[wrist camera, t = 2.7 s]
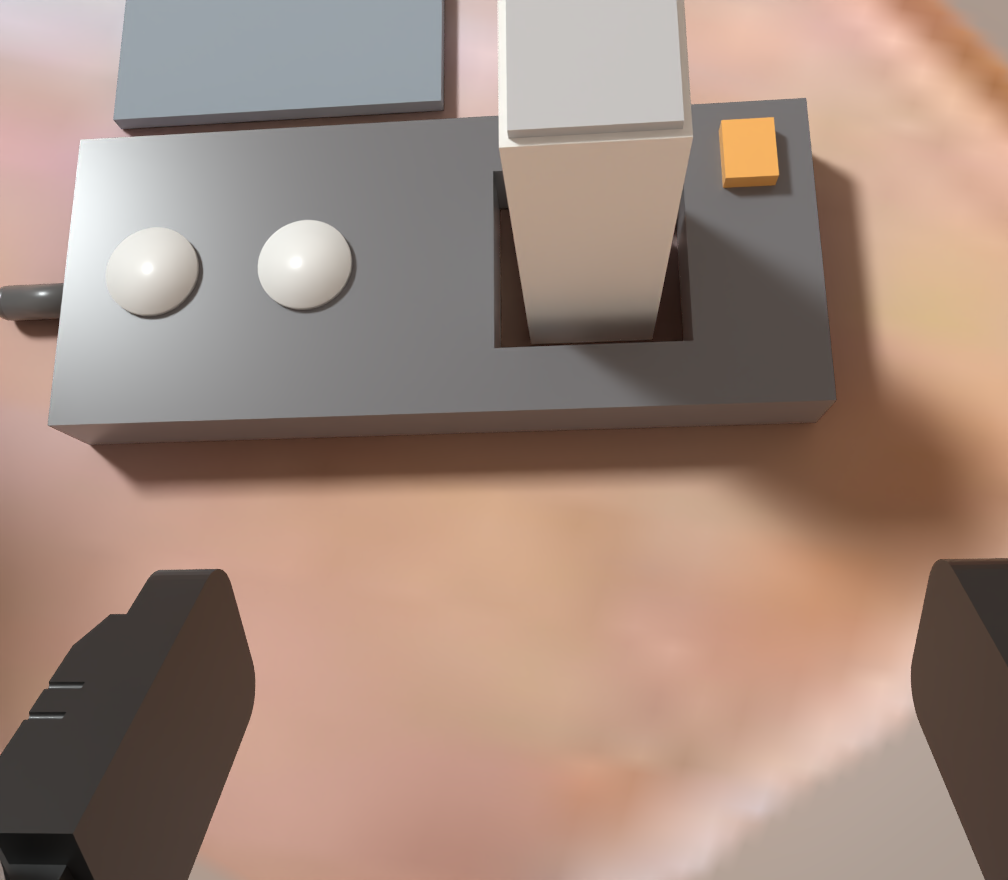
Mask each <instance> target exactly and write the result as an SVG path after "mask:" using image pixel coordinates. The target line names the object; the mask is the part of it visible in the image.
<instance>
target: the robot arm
mask: <svg viewBox="0 0 1008 880" xmlns="http://www.w3.org/2000/svg"><path fill="white" fill-rule="evenodd" d="M911 688H912V696H913V702H914V707H915V711H916V714H917V717H918V720H919V723H920V725H921V728H922V730H923V732H924V735H925V737H926V739H927V742H928V744H929V747H930V749H931V751H932V754H933V756H934V759H935V761H936V763H937V766H938V768H939V771H940V773H941V775H942V778H943V780H944V782H945V785H946V787H947V790H948V792H949V795H950V797H951V799H952V802H953V804H954V806H955V809H956V811H957V814H958V816H959V818H960V821H961V823H962V826H963V828H964V830H965V833H966V835H967V837H968V840H969V842H970V845H971V847H972V850H973V852H974V854H975V857H976V859H977V861H978V864H979V866H980V869H981V871H982V874H983V876H984V878H985V880H1008V558H995V559H940V560H938V561H936V562H935V564H934V565H933V567H932V569H931V572H930V576H929V580H928V585H927V590H926V595H925V600H924V605H923V610H922V615H921V619H920V624H919V629H918V634H917V639H916V644H915V649H914V654H913V659H912V665H911ZM254 697H255V672H254V665H253V661H252V658H251V654H250V650H249V647H248V643H247V639H246V636H245V632H244V629H243V625H242V621H241V618H240V614H239V611H238V607H237V603H236V600H235V596H234V593H233V589H232V585H231V582H230V580H229V578H228V576H227V574H226V573H225V572H224V571H223V570H221V569H195V570H158V571H156V572H154V573H153V574H152V575H151V576H150V577H149V579H148V580H147V582H146V583H145V585H144V587H143V588H142V590H141V591H140V593H139V595H138V596H137V598H136V600H135V601H134V603H133V605H132V606H131V608H130V609H129V611H128V613H127V614H110V615H109V616H108V617H107V618H106V619H104V620H103V621H102V622H101V623H100V624H98V625H97V626H96V627H95V628H94V629H92V630H91V631H90V632H89V633H88V634H86V635H85V636H84V637H83V638H82V639H80V640H79V641H78V642H77V643H76V644H74V645H73V646H72V648H71V649H70V651H69V652H68V654H67V655H66V657H65V658H64V660H63V661H62V663H61V664H60V666H59V667H58V669H57V670H56V672H55V674H54V675H53V677H52V678H51V680H50V681H49V688H48V689H44V690H43V692H42V693H41V695H40V696H39V698H38V699H37V701H36V702H35V704H34V705H33V707H32V708H31V710H30V711H29V714H30V716H29V719H28V720H24V721H23V722H22V724H21V725H20V727H19V728H18V730H17V731H16V733H15V734H14V736H13V737H12V739H11V740H10V742H9V743H8V745H7V746H6V748H5V749H4V751H3V752H2V754H1V755H0V880H188V878H189V875H190V872H191V870H192V867H193V865H194V862H195V859H196V857H197V854H198V852H199V849H200V847H201V844H202V841H203V839H204V836H205V834H206V831H207V829H208V826H209V823H210V821H211V818H212V816H213V813H214V810H215V808H216V805H217V803H218V800H219V798H220V795H221V792H222V790H223V787H224V785H225V782H226V780H227V777H228V774H229V772H230V769H231V767H232V764H233V761H234V759H235V756H236V754H237V751H238V749H239V746H240V743H241V741H242V738H243V736H244V733H245V731H246V728H247V725H248V723H249V720H250V717H251V714H252V710H253V704H254Z"/></svg>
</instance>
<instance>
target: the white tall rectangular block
mask: <svg viewBox="0 0 1008 880" xmlns="http://www.w3.org/2000/svg"><path fill="white" fill-rule="evenodd" d="M498 107H499V151H500V158H501V164H502V170H503V176H504V182H505V188H506V194H507V200H508V206H509V212H510V219H511V225H512V231H513V237H514V243H515V249H516V255H517V261H518V267H519V273H520V279H521V286H522V292H523V298H524V304H525V310H526V316H527V322H528V328H529V334H530V340H531V344H550V343H577V342H603V341H630V340H652V339H653V334H654V329H655V324H656V319H657V314H658V309H659V304H660V299H661V294H662V289H663V284H664V279H665V274H666V269H667V264H668V259H669V254H670V249H671V244H672V239H673V234H674V229H675V224H676V219H677V214H678V210H679V205H680V200H681V195H682V190H683V185H684V180H685V175H686V170H687V165H688V160H689V155H690V150H691V145H692V140H693V128H692V113H691V98H690V83H689V67H688V52H687V37H686V22H685V7H684V0H498Z"/></svg>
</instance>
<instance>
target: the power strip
mask: <svg viewBox="0 0 1008 880" xmlns="http://www.w3.org/2000/svg"><path fill="white" fill-rule="evenodd" d="M691 113H692V128H693V140H692V145H691V150H690V155H689V160H688V165H687V170H686V175H685V180H684V185H683V190H682V195H681V200H680V205H679V210H678V214H677V219H676V227H677V244H678V261H679V278H680V295H681V311H682V328H683V341H668V342H642V343H615V344H589V345H562V346H535V347H509V348H501V273H500V209H507V208H509V206H508V200H507V194H506V188H505V182H504V176H503V170H502V164H501V158H500V151H499V116H485V117H468V118H450V119H433V120H416V121H398V122H381V123H363V124H346V125H329V126H311V127H294V128H276V129H259V130H242V131H224V132H207V133H189V134H172V135H155V136H137V137H120V138H102V139H85V140H80V147H79V156H78V164H77V173H76V182H75V191H74V199H73V208H72V217H71V226H70V234H69V243H68V252H67V260H66V269H65V278H64V283H58V284H36V285H13V286H4V287H1V288H0V317H1V318H3V319H6V320H12V321H15V320H39V319H60V322H59V330H58V339H57V348H56V356H55V365H54V374H53V383H52V391H51V400H50V409H49V418H48V426H50V427H52V428H54V429H56V430H58V431H61V432H63V433H65V434H67V435H69V436H71V437H74V438H76V439H78V440H80V441H82V442H84V443H87V444H89V445H92V444H125V443H158V442H191V441H224V440H257V439H290V438H323V437H356V436H389V435H422V434H455V433H488V432H521V431H554V430H587V429H620V428H653V427H685V426H718V425H751V424H784V423H816V422H817V421H818V420H819V419H820V418H821V417H822V415H823V414H824V413H825V412H826V411H827V410H828V409H829V408H830V407H831V406H832V405H833V403H834V402H835V401H836V390H835V380H834V370H833V360H832V350H831V340H830V330H829V320H828V310H827V300H826V290H825V280H824V270H823V261H822V251H821V241H820V231H819V221H818V211H817V201H816V191H815V181H814V171H813V161H812V151H811V141H810V131H809V121H808V112H807V102H806V98H798V99H781V100H764V101H746V102H729V103H711V104H694V105H691Z"/></svg>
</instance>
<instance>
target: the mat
mask: <svg viewBox="0 0 1008 880" xmlns="http://www.w3.org/2000/svg"><path fill="white" fill-rule="evenodd" d="M440 110H444V0H126V5H125V14H124V24H123V33H122V43H121V52H120V62H119V71H118V81H117V90H116V100H115V109H114V119H113V120H114V121H115V122H116V123H117V125H118V126H119V127H120V128H121V129H131V128H148V127H165V126H183V125H200V124H217V123H234V122H251V121H268V120H286V119H303V118H320V117H337V116H354V115H372V114H389V113H406V112H423V111H440Z"/></svg>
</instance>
